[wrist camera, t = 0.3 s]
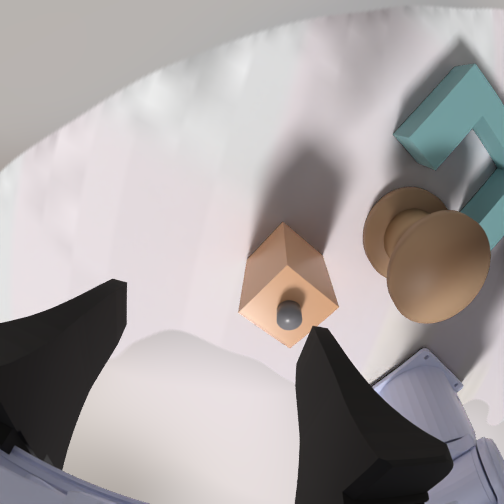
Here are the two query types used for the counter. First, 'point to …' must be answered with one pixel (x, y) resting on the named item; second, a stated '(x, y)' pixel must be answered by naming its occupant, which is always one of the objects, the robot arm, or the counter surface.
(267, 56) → the counter surface
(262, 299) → the plug
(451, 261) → the bobbin
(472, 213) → the notch board
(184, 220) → the counter surface
